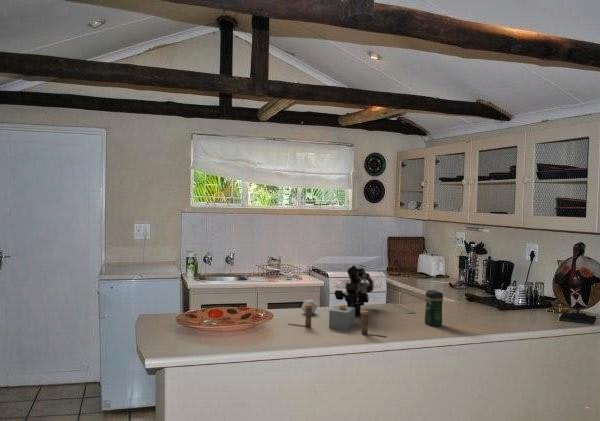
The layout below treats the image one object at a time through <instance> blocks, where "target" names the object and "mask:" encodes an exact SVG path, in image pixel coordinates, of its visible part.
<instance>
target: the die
mask: <svg viewBox="0 0 600 421" xmlns="http://www.w3.org/2000/svg"><path fill="white" fill-rule="evenodd" d="M306 305H312V313H311V315H314V314H315V313H316V310H317V308H318V304H316V302H315V301H314V299H304V301H303V303H302V305H301V310H302V311H303V313H304V314H305V315H306V308H305V307H306Z"/></svg>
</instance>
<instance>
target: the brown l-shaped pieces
mask: <svg viewBox="0 0 600 421" xmlns="http://www.w3.org/2000/svg"><path fill="white" fill-rule="evenodd" d="M305 308H306V314H305V323H304V324H298V323H288V324H287V325H290V326H297V327H304V328H309V329H310V328H312V314H311V313H312V305H306V307H305ZM361 313H362V315H361V335H363V336H372V337H374V336H375V337H379V338H380V337H381V338H387V335H383V334H374V333H368V332H369V331H368V330H369V329H368V328H369V311H367V310H361Z"/></svg>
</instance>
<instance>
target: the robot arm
mask: <svg viewBox="0 0 600 421" xmlns="http://www.w3.org/2000/svg"><path fill="white" fill-rule="evenodd" d="M347 275H348V279H349V280H350V282H346V283H345V292H343V290H339V289H337V290H335V291H334V296H335V299H336V300H339V301H342V300H343V299H344V301H345V302H346V304H347V305H346V306H347V307H355V317H362V310H361V307H362V306H365V303H369V301H370V299H369V298H370V297H369V294H368V293H372V292H373V291H374V290H375V288H374V281H373V279H372V277H371V275H370V273H368V272H366V271H365V268H364V267H357V266H356V265H351V267H349V268H348V269H347ZM363 280H364V281H365V280H366V281H367V282H364V281H363ZM362 281H363V282H362Z"/></svg>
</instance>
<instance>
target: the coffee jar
mask: <svg viewBox="0 0 600 421" xmlns="http://www.w3.org/2000/svg"><path fill="white" fill-rule="evenodd" d="M443 301H444V294H443V293H442V292H440V291H437V290H434V289H428V290H426V291H425V309H424V310H425V311H424V324H427V325H428V326H433V327H440V326H442V325H443Z"/></svg>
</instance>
